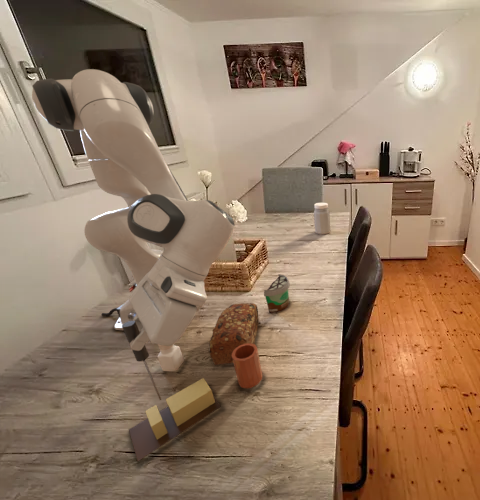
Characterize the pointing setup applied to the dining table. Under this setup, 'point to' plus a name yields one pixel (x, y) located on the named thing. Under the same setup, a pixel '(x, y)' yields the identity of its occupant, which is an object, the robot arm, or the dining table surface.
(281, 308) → the food container
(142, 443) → the butter board
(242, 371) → the crock
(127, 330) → the dark grey rod
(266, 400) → the dining table surface
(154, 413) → the butter slice
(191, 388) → the butter block
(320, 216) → the jar
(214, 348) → the bread
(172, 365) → the pepper shaker
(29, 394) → the dining table surface
